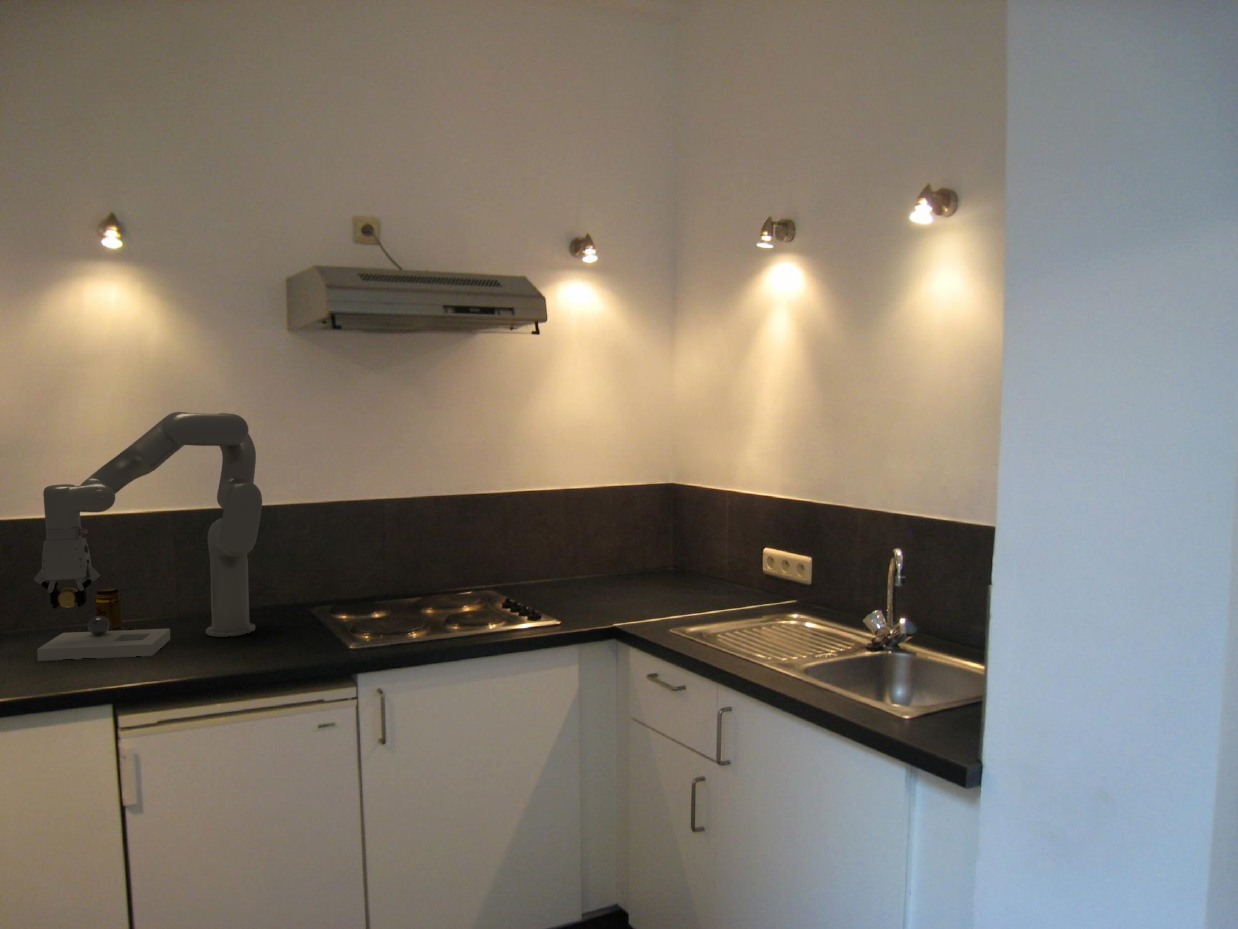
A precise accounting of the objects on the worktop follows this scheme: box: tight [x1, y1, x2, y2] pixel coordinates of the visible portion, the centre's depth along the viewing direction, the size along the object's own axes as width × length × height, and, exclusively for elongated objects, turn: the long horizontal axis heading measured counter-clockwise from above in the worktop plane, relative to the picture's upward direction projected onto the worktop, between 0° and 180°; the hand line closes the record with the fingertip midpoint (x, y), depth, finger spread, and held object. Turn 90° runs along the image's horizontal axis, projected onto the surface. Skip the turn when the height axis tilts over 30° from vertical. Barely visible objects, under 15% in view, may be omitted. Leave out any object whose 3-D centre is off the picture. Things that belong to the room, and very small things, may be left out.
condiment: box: [95, 587, 123, 631], centre depth 257 cm, size 7×8×12 cm
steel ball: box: [87, 615, 110, 635], centre depth 242 cm, size 5×5×5 cm
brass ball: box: [57, 587, 78, 609], centre depth 234 cm, size 5×5×5 cm
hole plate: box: [36, 628, 171, 662], centre depth 239 cm, size 16×26×3 cm, turn 101°
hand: (69, 605), depth 234 cm, fingers closed on brass ball, 5 cm apart
